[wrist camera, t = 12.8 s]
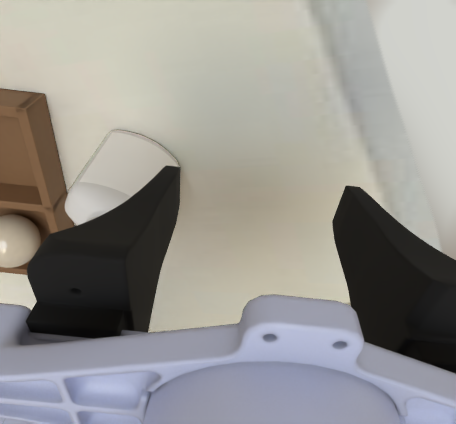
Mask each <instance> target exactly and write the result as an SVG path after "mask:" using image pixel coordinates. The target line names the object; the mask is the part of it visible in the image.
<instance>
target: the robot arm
mask: <svg viewBox="0 0 456 424" xmlns="http://www.w3.org/2000/svg"><path fill="white" fill-rule="evenodd" d="M179 205H180V167H176V166H167V165H166V166H165V167H163V168H162V169H161V171H160V172H159V173H158V174H157V175H156V176H155V177H154V178H153V179H152V180H151V181H149V182H148V183H147V184H146V185H145V186H144V187H143V188H142V189H141V190H139V191H138V192H137V193H136V194H134V195H133V196H132V197H131V198H129V199H128V200H127V201H125V202H124V203H122V204H121V205H119V206H117V207H116V208H114V209H112V210H110V211H109V212H107V213H105V214H103V215H101V216H99V217H97V218H95V219H92V220H90V221H88V222H85V223H82V224H80V225H77V226H74V227H71V228H68V229H65V230H61V231H58V232H55V233H51V234H49V236H48V237H47V238H46V239H45V240H44V242H43V243H42V244H41V246H40V247H39V249H38V250H37V252H36V253H35V255H34V256H33V258H32V259H31V261H30V262H29V264H28V267H27V275H28V279H29V282H30V284H31V287H32V289H33V292H34V295H35V297H36V300H37V303H36V304H35V306H34V308H33V309H32V311H31V310H30V309H29V308H27V307H25V306H21V305H13V304H3V303H0V424H456V260H454V259H452V258H450V257H449V256H447V255H445V254H443V253H442V252H440V251H438V250H437V249H435V248H433V247H432V246H430V245H429V244H427V243H426V242H424V241H423V240H421V239H420V238H418V237H417V236H416V235H414V234H413V233H412V232H410V231H409V230H408V229H406V228H405V227H404V226H403V225H401V224H400V223H399V222H398V221H397V220H395V219H394V218H393V217H392V216H391V215H390V214H389V213H388V212H386V211H385V210H384V209H383V208H382V207H381V206H380V205H379V204H378V203H377V202H376V201H375V200H374V199H373V198H372V197H370V196H369V195H368V194H367V193H366V192H365V191H364V190H363V189H361V188H360V187H354V186H346V187H345V189H344V192H343V195H342V197H341V200H340V203H339V205H338V208H337V211H336V213H335V216H334V219H333V221H332V223H333V232H334V239H335V244H336V247H337V251H338V255H339V258H340V261H341V265H342V268H343V272H344V275H345V279H346V282H347V286H348V290H349V296H350V302H351V306H350V305H348V304H344V303H341V302H338V301H332V300H323V299H313V298H303V297H294V296H284V295H275V294H274V295H261V296H259V297H257V298H254V299H252V300H250V301H249V302H248V303H247V305H246V306H245V308H244V309H243V313H242V318H241V320H240V322H239V323H238V324H229V325H219V326H210V327H200V328H191V329H181V330H172V331H162V332H153V333H148V329H149V323H150V318H151V313H152V308H153V303H154V298H155V293H156V289H157V284H158V279H159V275H160V270H161V267H162V263H163V260H164V257H165V254H166V252H167V249H168V246H169V243H170V240H171V237H172V234H173V231H174V228H175V225H176V221H177V216H178V210H179Z"/></svg>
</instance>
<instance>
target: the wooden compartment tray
mask: <svg viewBox="0 0 456 424" xmlns="http://www.w3.org/2000/svg"><path fill="white" fill-rule="evenodd" d="M66 198H67V191H66V187H65V182H64V178H63V174H62V169H61V165H60V160H59V156H58V151H57V147H56V142H55V138H54V134H53V129H52V125H51V120H50V116H49V111H48V107H47V102H46V98H45V94H42V93H33V92H25V91H16V90H8V89H0V216H2V215H7V214H16V215H21V216H24V217H26V218H28V219H30V220H31V221H32V222H33V223H34V224H35V225H36V226H37V227H38V229H39V231H40V234H41V244H42V243H43V242H44V240H45V239H46V238H47V237H48V236H49V234H51V233H55V232H58V231H61V230H65V229H68V228H71V227H74V223H73V221H72V220H71V218H70V217H69V216H68V215H67V213H66V211H65V201H66ZM30 261H31V260H30ZM30 261H29V262H30ZM29 262H27V263H26V264H24V265H21V266H18V267H13V268H4V267H0V272H6V273H15V274H25V275H27V267H28V264H29Z"/></svg>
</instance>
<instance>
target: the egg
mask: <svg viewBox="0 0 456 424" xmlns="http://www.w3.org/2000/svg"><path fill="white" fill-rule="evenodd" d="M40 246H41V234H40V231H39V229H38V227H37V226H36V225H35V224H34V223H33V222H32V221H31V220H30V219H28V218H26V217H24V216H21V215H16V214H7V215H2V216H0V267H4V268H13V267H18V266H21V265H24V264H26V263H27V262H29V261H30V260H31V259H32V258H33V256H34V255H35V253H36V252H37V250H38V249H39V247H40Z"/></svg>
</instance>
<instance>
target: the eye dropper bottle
mask: <svg viewBox="0 0 456 424" xmlns="http://www.w3.org/2000/svg"><path fill="white" fill-rule="evenodd" d="M166 165H167V166H176V167H179V164H178V162H177V160H176V159H175V158H174V157H173V156H172V155H171V154H170V153H169V152H168V151H167V150H166V149H165V148H163V147H162V146H161V145H159V144H158V143H156V142H155V141H153V140H151V139H149V138H147V137H145V136H142V135H139V134H136V133H133V132H128V131H123V130H113V131H110V132H109V133H108V134H107V136H106V137H105V138H104V140H103V141H102V143H101V144H100V145H99V147H98V148H97V150H96V151H95V152H94V154H93V155H92V157H91V158H90V160H89V161H88V163H87V164H86V165H85V167H84V168H83V170H82V171H81V173H80V174H79V175H78V177H77V179H76V180H75V182H74V183H73V185H72V186H71V188H70V191H69V193H68V195H67V198H66V201H65V211H66V213H67V215H68V216H69V217H70V218H71V220H72V221H73V222H74V223H75V224H76V225H80V224H82V223H85V222H88V221H90V220H92V219H95V218H97V217H99V216H101V215H103V214H105V213H107V212H109V211H110V210H112V209H114V208H116V207H117V206H119V205H121V204H122V203H124V202H125V201H127V200H128V199H129V198H131V197H132V196H133V195H134V194H136V193H137V192H138V191H139V190H141V189H142V188H143V187H144V186H145V185H146V184H147V183H148V182H149V181H151V180H152V179H153V178H154V177H155V176H156V175H157V174H158V173H159V172H160V171H161V169H162V168H163V167H165V166H166Z"/></svg>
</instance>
